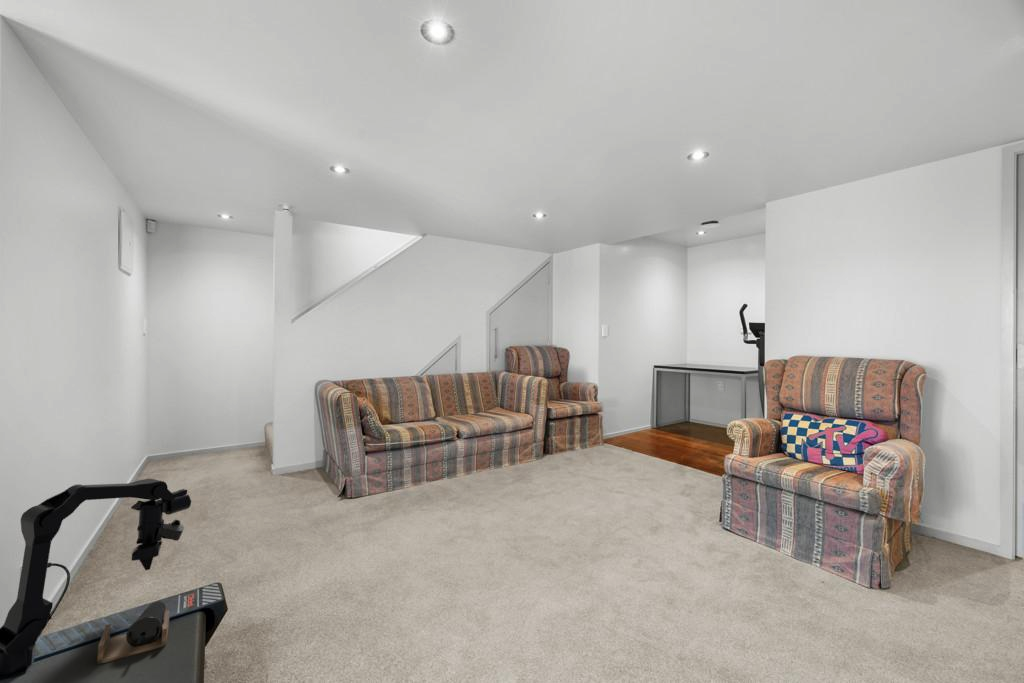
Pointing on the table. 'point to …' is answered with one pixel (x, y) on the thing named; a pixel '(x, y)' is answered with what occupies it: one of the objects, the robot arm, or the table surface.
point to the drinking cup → (147, 625)
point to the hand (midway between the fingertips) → (147, 569)
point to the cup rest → (127, 644)
